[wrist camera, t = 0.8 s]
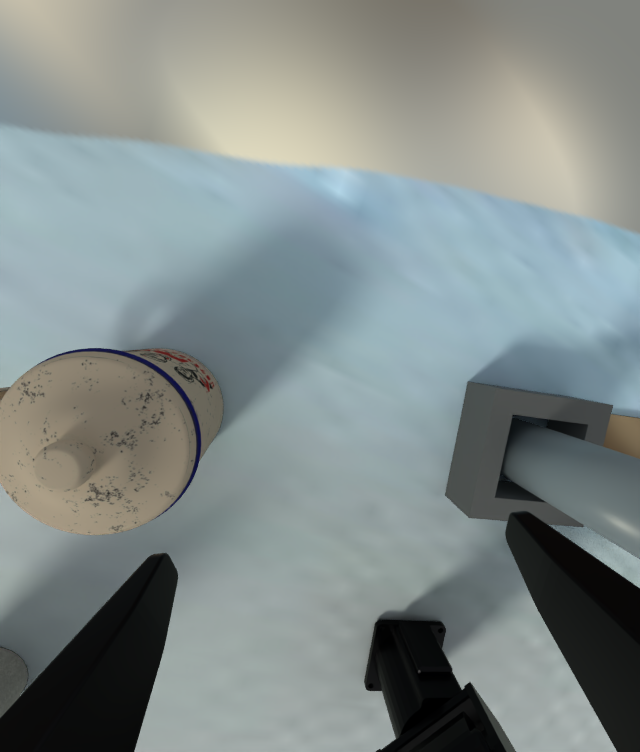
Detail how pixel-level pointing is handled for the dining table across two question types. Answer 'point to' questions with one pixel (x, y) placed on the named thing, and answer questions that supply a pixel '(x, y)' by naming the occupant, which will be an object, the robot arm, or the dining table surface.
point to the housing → (488, 442)
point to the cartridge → (578, 480)
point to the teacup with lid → (106, 436)
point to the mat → (623, 435)
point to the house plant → (11, 678)
